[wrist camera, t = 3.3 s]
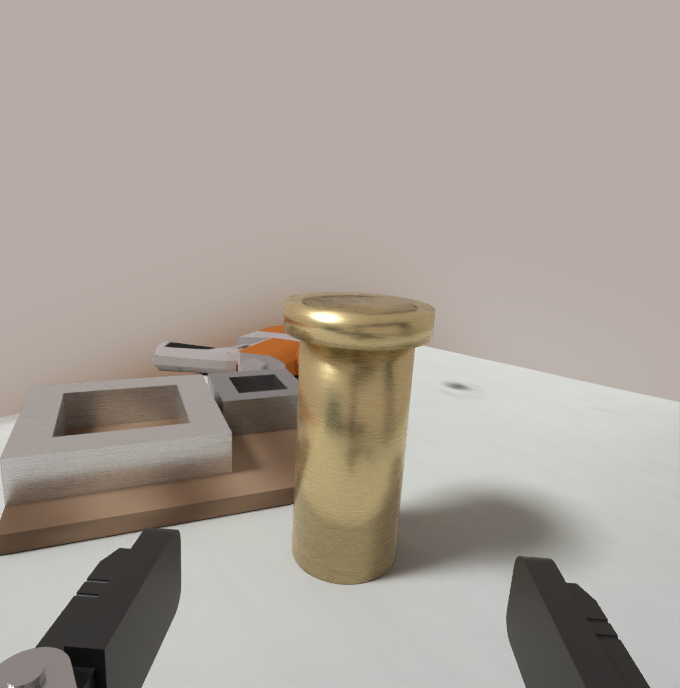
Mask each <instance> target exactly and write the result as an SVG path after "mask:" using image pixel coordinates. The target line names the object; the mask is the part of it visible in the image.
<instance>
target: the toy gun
mask: <svg viewBox="0 0 680 688" xmlns="http://www.w3.org/2000/svg"><path fill="white" fill-rule="evenodd" d="M299 348H300V340H298V339H296V338H293V337H291V336H289V335H288V334H287V333H286V332H285V331H284V326H273V327H269V328H266V329H263V330H260V331H257V332H254V333H251V334H247V335H245V336H241V337H239V339H238V341H237V346H232V347H227V348H212V347H204V346H195V345H188V344H181V343H177V342H171V341H165V342H163V343H162V344H160V345H159V346H158V347H156V348H155V350H154V353H153V355H152V362H153V364H154V365H155V366H156V367H157V368H158V370H160V371H180V372H198V373H223V372H238V371H252V370H267V369H282V368H286V369H287V370H288V371H289V372H290V373H291V374H292V375H293V376H294V375H299Z"/></svg>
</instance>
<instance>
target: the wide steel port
mask: <svg viewBox="0 0 680 688" xmlns="http://www.w3.org/2000/svg"><path fill="white" fill-rule="evenodd" d="M173 418H178V421H179V424H175V425H166V426H156V427H146V428H137V429H127V430H117V431H108V432H98V433H89V434H79V435H69V436H65V434H66V429H73V428H83V427H93V426H103V425H113V424H123V423H133V422H143V421H153V420H163V419H173ZM0 466H1V475H2V483H3V492H4V500H5V506H11V505H18V504H25V503H32V502H39V501H45V500H52V499H59V498H66V497H73V496H80V495H87V494H94V493H100V492H107V491H114V490H121V489H128V488H135V487H142V486H149V485H155V484H162V483H169V482H176V481H183V480H190V479H197V478H204V477H210V476H217V475H224V474H231V473H232V432H231V430H230V428H229V426H228V424H227V422H226V420H225V418H224V416H223V415H222V413H221V411H220V409H219V407H218V405H217V403H216V401H215V399H214V397H213V395H212V393H211V391H210V389H209V387H208V385H207V383H206V381H205V379H204V378H203V376H202V374H197V375H182V376H168V377H153V378H139V379H124V380H109V381H94V382H79V383H66V384H52V385H51V384H50V385H36V386H32V387H31V389H30V392H29V394H28V396H27V399H26V401H25V403H24V406H23V408H22V410H21V412H20V414H19V417H18V419H17V421H16V424H15V426H14V428H13V430H12V433H11V435H10V437H9V439H8V442H7V444H6V446H5V449H4V451H3V453H2V455H1V458H0Z"/></svg>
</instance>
